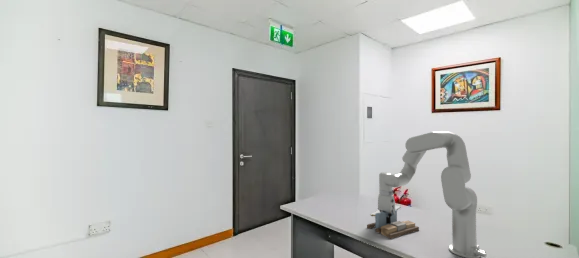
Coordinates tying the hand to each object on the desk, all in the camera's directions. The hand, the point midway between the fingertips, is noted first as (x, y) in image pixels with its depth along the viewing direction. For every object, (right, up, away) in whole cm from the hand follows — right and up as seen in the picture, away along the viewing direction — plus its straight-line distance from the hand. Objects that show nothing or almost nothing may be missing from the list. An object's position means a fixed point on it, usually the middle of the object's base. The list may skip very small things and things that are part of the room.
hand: (386, 222), depth 150 cm
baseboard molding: (+11, -4, +29) cm, 31 cm away
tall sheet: (0, -3, 0) cm, 3 cm away
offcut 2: (+4, -3, -8) cm, 9 cm away
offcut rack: (+2, -3, -4) cm, 5 cm away
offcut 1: (-3, -3, -11) cm, 12 cm away
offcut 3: (+11, -3, -4) cm, 12 cm away
